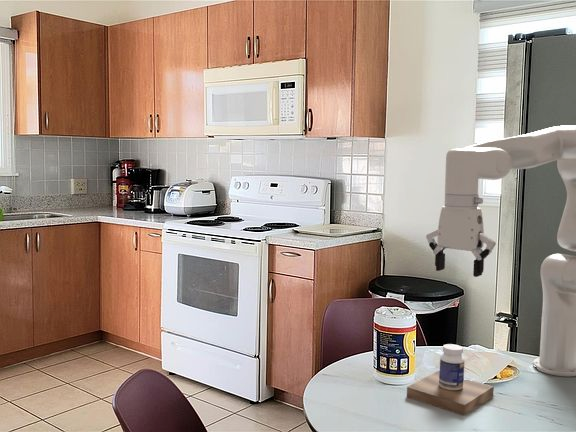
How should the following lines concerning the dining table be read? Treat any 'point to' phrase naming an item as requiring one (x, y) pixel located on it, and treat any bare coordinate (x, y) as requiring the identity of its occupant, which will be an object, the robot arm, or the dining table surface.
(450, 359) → the pill bottle
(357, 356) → the dining table surface
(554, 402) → the dining table surface
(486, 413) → the dining table surface
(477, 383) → the walnut board
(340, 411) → the dining table surface
